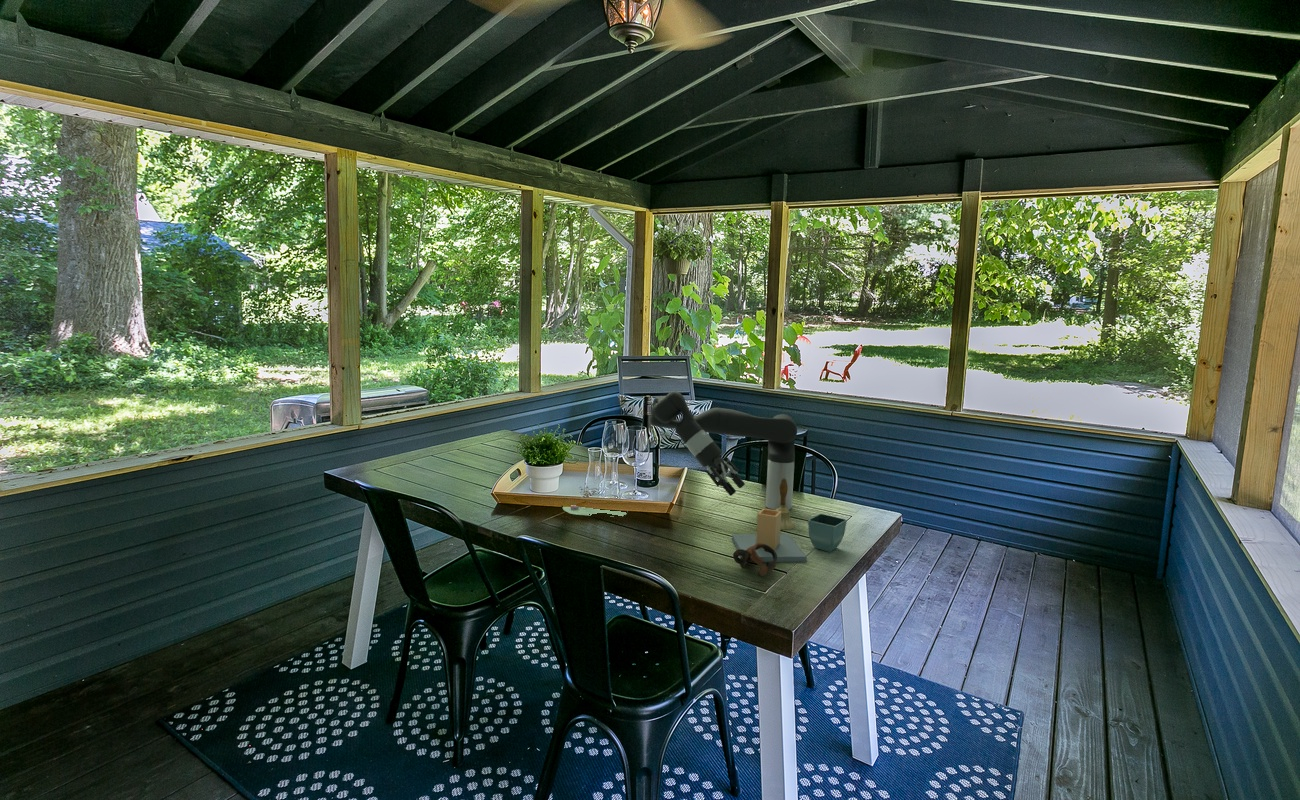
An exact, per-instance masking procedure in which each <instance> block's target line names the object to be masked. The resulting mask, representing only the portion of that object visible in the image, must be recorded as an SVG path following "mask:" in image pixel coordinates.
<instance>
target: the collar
mask: <svg viewBox="0 0 1300 800" xmlns="http://www.w3.org/2000/svg"><path fill="white" fill-rule="evenodd" d="M756 516H757V521H756V534H757V537H756V544H758V543H762V544H766V545H768V546H770V547H771V548H772V549H773V550H775V549H776V547H777V546H778V545H779V544H780V534H781V511H776V510H773V509H769V508H762V509H761V510H760V511H759V512H758V513H757V515H756Z"/></svg>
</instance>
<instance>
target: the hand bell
mask: <svg viewBox="0 0 1300 800" xmlns="http://www.w3.org/2000/svg"><path fill="white" fill-rule="evenodd" d="M787 491H788V485H787V482H786V479H785V478H782V481H781V483H780V495H781V503H780V508H777V509H776V511H781V529H780V531H781V530H785V531H788V530H792V529H794V528H795V527H796V526H795V523H794V522H793V521H792V518H791V513H790V509H787V508H786V495H787Z"/></svg>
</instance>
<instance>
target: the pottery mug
mask: <svg viewBox="0 0 1300 800" xmlns="http://www.w3.org/2000/svg"><path fill="white" fill-rule="evenodd" d="M759 548H764V551H766V552H769V553H771V554H772V556H773V559H774V560H773V561H767V562H766V563H765V562H764V560H763V559H761V558H760V557H759V556H758V555H757V553H756V550H757V549H759ZM741 556H742V557H741ZM732 557H733V559H734V562H735V563H736V564H738V565H739V566H740V568H742V569H745V565H746V563H753V564H757V566H758V567H759V568H760V570H759V571H758V575H759V576H761V577H764V576H765V575H767V574H769V573H770V572H772V571H773V570H774V569H776V566H777V562H776V561H777V554H776V552H775V551H774V550H773V549H772V548H771V547H770V546H768V545H766V544H762V543H758V544H755V545H754V546H751V547H749V548H748V549H747V550H743V549H736V550H735V551H733V554H732Z"/></svg>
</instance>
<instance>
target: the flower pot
mask: <svg viewBox="0 0 1300 800" xmlns="http://www.w3.org/2000/svg"><path fill="white" fill-rule="evenodd" d="M847 522H848V520H847V519H846V518H842V517H837V516H833V515H828V514H825V513H818V514H816V515H815V516H813V517H811V518H809V519H808V520H807V523H808V535H809V536H808V537H809V540H810V542H811V544H812V545H813V547H814V549H817V550H821V551H824V552H829V553H830V552H833V551H834V550H836V549H837V548H838V547H839V546H840V544H841V542H842V540H843V538H844V537H845V531H846V528H847Z"/></svg>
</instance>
